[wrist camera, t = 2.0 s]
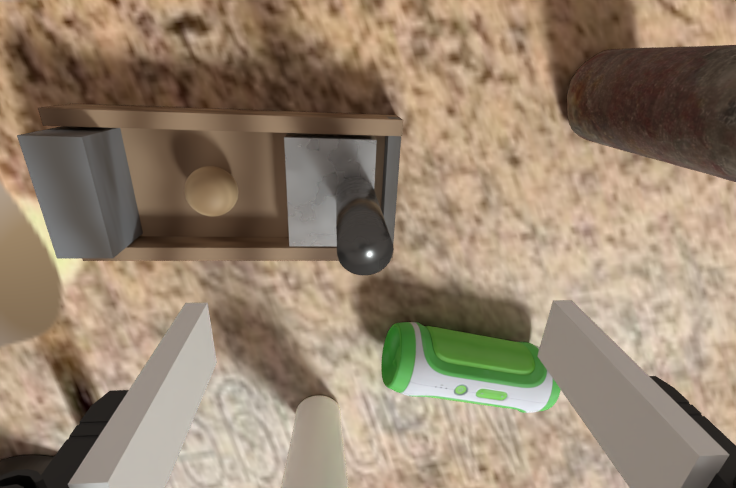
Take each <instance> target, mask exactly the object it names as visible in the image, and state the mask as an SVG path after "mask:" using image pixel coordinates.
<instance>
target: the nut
mask: <svg viewBox="0 0 736 488" xmlns="http://www.w3.org/2000/svg"><path fill="white" fill-rule="evenodd" d="M184 191H185V197H186V200H187V202H188V203H189V205H190V206H191V207H192V208H193V209H194V210H195V211H197V212H198V213H200V214H202V215H205V216H220V215H223V214H225V213H227V212H229V211H230V210H231V209H232V208H233V207H234V205H235V204H236V201H237V199H238V186H237V183H236V181H235V180H234V178H233V177H232V176H231V175H230V174H229V173H228V172H227V171H225V170H224V169H221V168H219V167H215V166H205V167H201V168H199V169H197V170H195V171H194V172H192V173H191V174H190V176H189V177H188V179H187V180H186V183H185V189H184Z"/></svg>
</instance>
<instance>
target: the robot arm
mask: <svg viewBox="0 0 736 488" xmlns="http://www.w3.org/2000/svg"><path fill="white" fill-rule="evenodd" d="M538 358H539V359H540V361H541V362H542V363H543V365H544V366H545V368H546V369H547V371H548V372H549V373H550V375H551V376H552V378H553V379H554V380H555V382H556V383H557V385H558V386H559V388H560V389H561V390H562V392H563V393H564V395H565V396H566V398H567V399H568V400H569V402H570V403H571V405H572V406H573V408H574V409H575V410H576V412H577V413H578V415H579V416H580V417H581V419H582V420H583V422H584V423H585V425H586V426H587V427H588V429H589V430H590V432H591V433H592V435H593V436H594V437H595V439H596V440H597V442H598V443H599V445H600V446H601V447H602V449H603V450H604V452H605V453H606V454H607V456H608V457H609V459H610V460H611V462H612V463H613V464H614V466H615V467H616V469H617V470H618V472H619V473H620V474H621V476H622V477H623V479H624V480H625V482H626V483H627V484H628V486H629V487H630V488H736V446H735V445H734V444H733V443H732V442H731V441H730V440H729V439H728V438H727V437H726V436H725V435H724V434H723V433H722V432H721V431H719V430H718V429H717V428H716V427H715V426H714V425H713V424H712V423H711V422H710V421H709V420H708V419H707V418H706V417H705V416H702V415H701V413H700V412H699V411H698V410H697V409H696V408H695V407H694V406H693V405H690V404H689V401H688V400H686V399H685V398H684V397H683V396H682V395H681V394H680V393H679V392H678V391H677V390H676V389H675V388H673V387H672V386H670V385H669V384H667V383H666V382H664V381H662V380H661V379H659V378H658V377H656V376H648V375H647V374H646V373H645V372H644V371H643V370H642V369H641V368H640V367H639V366H638V365H637V364H636V363H635V362H634V361H633V360H632V359H631V358H630V357H629V356H628V355H627V354H626V353H625V352H624V351H623V350H622V349H621V348H620V347H619V346H618V345H617V344H616V343H615V342H614V341H613V340H612V339H611V338H610V337H609V336H608V335H607V334H605V333H604V332H603V331H602V330H601V329H600V328H599V327H598V326H597V325H596V324H595V323H594V322H593V321H592V320H591V319H590V318H589V317H588V316H587V315H586V314H585V313H584V312H583V311H582V310H581V309H580V308H579V307H578V306H577V305H576V304H575V303H574V302H573V301H572V300H563V301H553V303H552V306H551V310H550V313H549V317H548V320H547V324H546V327H545V331H544V334H543V338H542V341H541V345H540V349H539V352H538ZM216 363H217V360H216V354H215V348H214V341H213V335H212V328H211V322H210V316H209V309H208V303H185V305H184V306H183V308H182V309H181V311H180V312H179V314H178V315H177V317H176V318H175V320H174V322H173V323H172V325H171V326H170V328H169V329H168V331H167V332H166V334H165V335H164V337H163V338H162V340H161V342H160V343H159V345H158V346H157V348H156V349H155V351H154V352H153V354H152V355H151V357H150V358H149V360H148V362H147V363H146V365H145V366H144V368H143V369H142V371H141V372H140V374H139V375H138V377H137V378H136V380H135V382H134V383H133V385H132V386H131V388H130V389H129V390H119V391H109V392H108V393H107V394H105V395H104V396H103V397H102V398H100V399H99V400H98V401H97V402H95V403H94V404H93V405H92V406H91V407H90V409H89V410H88V411H87V413H86V414H85V415H84V417H83V418H82V420H81V421H80V424H79V425H77V426H76V428H75V429H74V430H73V432H72V433H71V435H70V437H69V439H68V440H66V441H65V443H64V444H63V446H62V447H61V448H60V450H59V451H58V452H57V454H56V455H55V456H54V457H50V456H41V455H24V456H16V457H11V458H7V459H4V460H1V461H0V488H165V487H166V485H167V482H168V480H169V477H170V475H171V473H172V470H173V468H174V465H175V463H176V460H177V458H178V456H179V453H180V451H181V448H182V446H183V443H184V441H185V438H186V436H187V434H188V431H189V429H190V426H191V424H192V421H193V419H194V417H195V414H196V412H197V409H198V407H199V404H200V402H201V400H202V397H203V395H204V392H205V390H206V387H207V385H208V382H209V380H210V378H211V375H212V373H213V370H214V368H215V365H216Z"/></svg>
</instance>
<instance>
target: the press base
mask: <svg viewBox="0 0 736 488" xmlns="http://www.w3.org/2000/svg"><path fill="white" fill-rule="evenodd" d="M38 110H39V113H40V117H41V120H42V124H43V126H62V127H57V128H52V129H47V130H42V131H37V132H32V133H27V134H22V135H17V137H18V140H19V143H20V146H21V149H22V152H23V155H24V158H25V161H26V164H27V167H28V171H29V174H30V177H31V180H32V183H33V186H34V189H35V192H36V195H37V198H38V201H39V204H40V207H41V210H42V214H43V217H44V220H45V223H46V226H47V229H48V232H49V235H50V238H51V241H52V244H53V247H54V250H55V253H56V257H57V258H82V259H83V261H339V259H338V256H337V246H289V227H288V207H287V186H286V165H285V144H284V137H285V136H286V134H287V133H308V134H342V135H374V137H375V138H376V140H377V144H376V164H375V185H374V191H375V194H376V196H377V199H378V202H379V205H380V208H381V211H382V214H383V217H384V220H385V222H386V225H387V228H388V231H389V234H390V237H391V240H392V243H393V240H394V226H395V213H396V199H397V185H398V172H399V158H400V145H401V136H402V130H403V120H402V119H401V118H399V117H398V116H396V115H382V114H353V113H324V112H295V111H267V110H238V109H209V108H181V107H152V106H123V105H94V104H66V105H58V106H49V107H41V108H38ZM205 166H215V167H219V168H221V169H224V170H225V171H227V172H228V173H229V174H230V175H231V176H232V177H233V178H234V180H235V181H236V183H237V186H238V199H237V201H236V204H235V205H234V207H233V208H232V209H231V210H230V211H229V212H227V213H225V214H223V215H220V216H205V215H202V214H200V213H198V212H197V211H195V210H194V209H193V208H192V207H191V206H190V205H189V203H188V202H187V200H186V197H185V191H184V189H185V183H186V180H187V179H188V177H189V176H190V174H191V173H192V172H194V171H195V170H197V169H199V168H201V167H205ZM393 250H394V248H393ZM390 261H393V255H392V258H391V260H390Z"/></svg>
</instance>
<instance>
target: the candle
mask: <svg viewBox="0 0 736 488" xmlns="http://www.w3.org/2000/svg"><path fill="white" fill-rule="evenodd" d="M567 105H568V107H567V113H568V119H569V124H570V126H571V128H572V130H573V131H574V132H575V133H576V134H577V135H579V136H580V137H582V138H584V139H586V140H589V141H592V142H596V143H599V144H602V145H606V146H609V147H613V148H616V149H620V150H623V151H627V152H631V153H635V154H638V155H641V156H645V157H648V158H652V159H656V160H659V161H664V162H667V163H670V164H674V165H677V166H680V167H684V168H688V169H691V170H695V171H699V172H703V173H706V174H710V175H713V176H717V177H720V178H723V179H727V180H730V181H734V182H736V45H723V46H701V47H665V48H632V49H612V50H605V51H602V52H601V53H599V54H597V55H595V56H594V57H593V58H591V59H590V60H588V61H587V62H585V63H584V64H583V65H582V66H581V67H579V69H578V70H577V72H576V74H575V75H574V77H573V78H572V80H571V82H570V87H569V89H568V93H567Z"/></svg>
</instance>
